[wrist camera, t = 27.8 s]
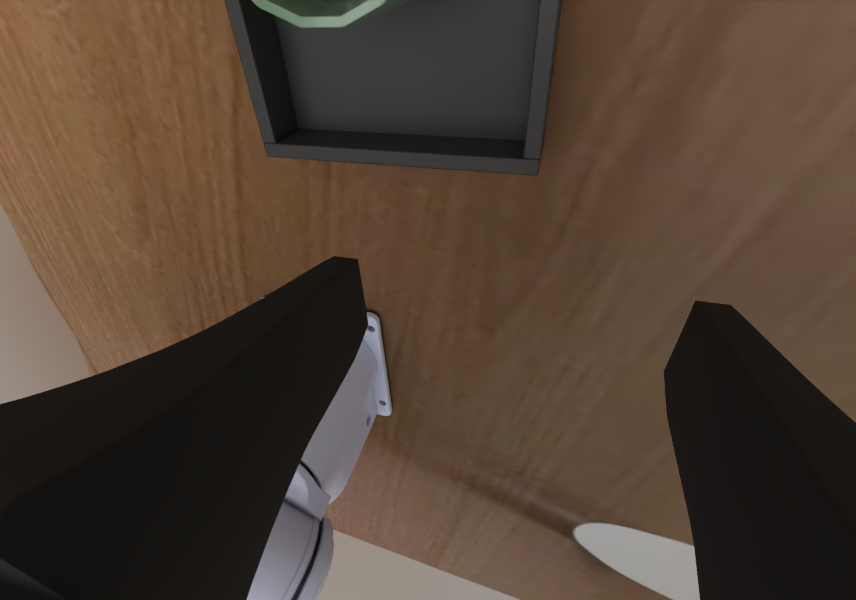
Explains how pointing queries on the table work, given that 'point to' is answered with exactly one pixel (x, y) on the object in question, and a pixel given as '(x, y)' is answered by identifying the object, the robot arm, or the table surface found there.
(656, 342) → the table surface
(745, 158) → the table surface
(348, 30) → the tray
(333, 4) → the green cup
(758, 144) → the table surface
